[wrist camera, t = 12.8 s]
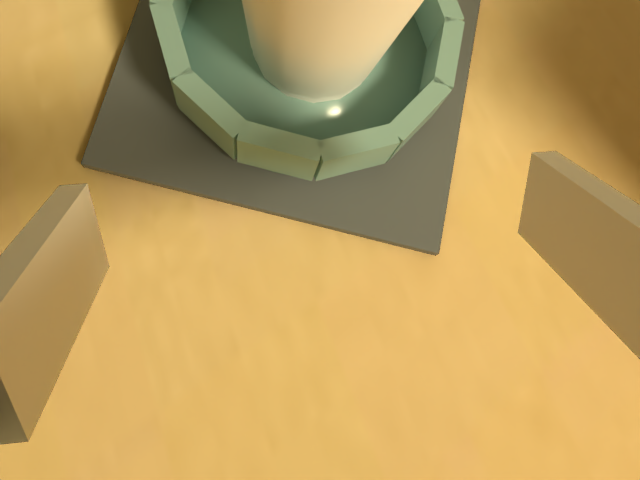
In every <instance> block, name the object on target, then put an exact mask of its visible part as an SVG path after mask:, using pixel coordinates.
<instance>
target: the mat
mask: <svg viewBox="0 0 640 480" xmlns="http://www.w3.org/2000/svg"><path fill="white" fill-rule="evenodd" d="M149 1H150V0H140V1H139V3H138V6H137V9H136V12H135V14H134V17H133V20H132V23H131V26H130V28H129V31H128V34H127V37H126V39H125V42H124V45H123V48H122V51H121V53H120V56H119V59H118V62H117V64H116V67H115V70H114V73H113V75H112V78H111V81H110V84H109V87H108V89H107V92H106V95H105V98H104V100H103V103H102V106H101V109H100V112H99V114H98V117H97V120H96V123H95V125H94V128H93V131H92V134H91V136H90V139H89V142H88V145H87V148H86V150H85V153H84V156H83V159H82V161H81V164H82V165H83V167H85V168H89V169H93V170H97V171H101V172H105V173H109V174H113V175H117V176H121V177H125V178H129V179H133V180H137V181H141V182H145V183H149V184H153V185H157V186H161V187H165V188H169V189H173V190H177V191H181V192H185V193H189V194H193V195H197V196H201V197H205V198H209V199H213V200H217V201H221V202H225V203H229V204H233V205H237V206H241V207H244V208H248V209H252V210H256V211H260V212H264V213H268V214H272V215H276V216H280V217H284V218H288V219H292V220H296V221H300V222H304V223H308V224H312V225H316V226H320V227H324V228H328V229H332V230H336V231H340V232H344V233H348V234H352V235H356V236H360V237H364V238H368V239H372V240H376V241H380V242H384V243H388V244H392V245H396V246H400V247H403V248H407V249H411V250H415V251H419V252H423V253H427V254H431V255H435V256H436V255H437V254H439V250H440V244H441V238H442V232H443V226H444V220H445V214H446V208H447V202H448V196H449V189H450V183H451V177H452V171H453V165H454V159H455V153H456V147H457V141H458V135H459V128H460V122H461V116H462V110H463V104H464V98H465V92H466V86H467V80H468V74H469V67H470V61H471V55H472V49H473V43H474V37H475V31H476V25H477V19H478V13H479V6H480V0H457V1H458V4H459V6H460V9H461V11H462V14H463V16H464V20H463V21H464V22H465V24H464V29H463V35H462V41H461V47H460V53H459V59H458V65H457V70H456V76H455V82H454V87H453V89H452V91H451V92H450V94H449V95H448V96H447V97H446V99H445V100H444V101H443V103H442V104H441V105H440V107H439V108H438V109H437V110H436V112H435V113H434V114H433V115H432V116H431V118H430V119H429V120H428V121H427V122H426V123H425V124H424V125H423V126H422V127H421V128H420V129H419V130H418V131H417V132H416V133H415V134H414V135H413V136H412V137H411V138H410V139H409V140H408V141H407V142H406V144H405V145H404V146H403V147H402V148H401V149H400V150H399V151H398V152H397V153H396V154H395V155H394V156H393V157H392V158H391V159H390V160H389V161H388V162H387V161H386V163H385V164H381V165H377V166H373V167H369V168H365V169H362V170H358V171H354V172H350V173H346V174H342V175H338V176H334V177H330V178H326V179H322V180H318V181H315V179H314V177H313V179H312V181H309V180H305V179H301V178H297V177H293V176H289V175H284V174H279V173H274V172H271V171H268V170H265V169H262V168H259V167H255V166H251V165H247V164H243V163H239V162H237V158H236V159H235V160H233V159H232V158H231V157H230V156H229V155H228V154H227V153H226V152H225V151H224V150H223V149H221V148H220V147H219V146H218V145H217V144H216V143H215V142H214V141H213V140H212V139H211V138H210V137H209V136H208V135H206V134H205V133H204V132H203V131H202V130H201V129H200V128H199V127H198V126H197V125H196V124H195V123H194V122H192V121H191V120H190V119H189V118H188V117H187V116H186V115H185V114H184V113H183V112H182V111H181V110H180V109H179V107H178V106H177V104H176V100H175V97H174V93H173V90H172V86H171V83H170V79H169V76H168V72H167V69H166V65H165V61H164V58H163V54H162V51H161V47H160V44H159V40H158V36H157V33H156V29H155V25H154V21H153V17H152V14H151V10H150V6H149V5H150V2H149Z"/></svg>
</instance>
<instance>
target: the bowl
mask: <svg viewBox="0 0 640 480" xmlns="http://www.w3.org/2000/svg"><path fill="white" fill-rule="evenodd" d="M149 2H150V5H149V6H150V10H151V14H152V17H153V21H154V25H155V29H156V33H157V36H158V40H159V44H160V47H161V51H162V54H163V58H164V61H165V65H166V69H167V72H168V76H169V79H170V83H171V86H172V90H173V93H174V97H175V100H176V104H177V106H178V107H179V109H180V110H181V111H182V112H183V113H184V114H185V115H186V116H187V117H188V118H189V119H190V120H191V121H192V122H194V123H195V124H196V125H197V126H198V127H199V128H200V129H201V130H202V131H203V132H204V133H205V134H206V135H208V136H209V137H210V138H211V139H212V140H213V141H214V142H215V143H216V144H217V145H218V146H219V147H220V148H221V149H223V150H224V151H225V152H226V153H227V154H228V155H229V156H230V157H231V158H232V159H233V160H235V159H236V158H237V162H239V163H243V164H247V165H251V166H255V167H259V168H262V169H265V170H268V171H271V172H274V173H279V174H284V175H289V176H293V177H297V178H301V179H305V180H309V181H312V179H313V177H314V179H315V181H318V180H322V179H326V178H330V177H334V176H338V175H342V174H346V173H350V172H354V171H358V170H362V169H365V168H369V167H373V166H377V165H381V164H385V163H386V161H387V162H388V161H389V160H390V159H391V158H392V157H393V156H394V155H395V154H396V153H397V152H398V151H399V150H400V149H401V148H402V147H403V146H404V145H405V144H406V142H407V141H408V140H409V139H410V138H411V137H412V136H413V135H414V134H415V133H416V132H417V131H418V130H419V129H420V128H421V127H422V126H423V125H424V124H425V123H426V122H427V121H428V120H429V119H430V118H431V116H432V115H433V114H434V113H435V112H436V110H437V109H438V108H439V107H440V105H441V104H442V103H443V101H444V100H445V99H446V97H447V96H448V95H449V94H450V92H451V91H452V89H453V87H454V82H455V76H456V70H457V65H458V59H459V53H460V47H461V41H462V35H463V29H464V24H465V22H464V21H463V20H464V16H463V14H462V11H461V9H460V6H459V4H458V1H457V0H424V1H423V2H422V4H421V5H420V6H419V8H418V9H417V10H416V12H415V13H414V15H413V16H412V17H411V19H410V20H409V21H408V23H407V24H406V25H405V27H404V28H403V29H402V31H401V32H400V33H399V35H398V36H397V37H396V39H395V40H394V41H393V43H392V44H391V45H390V47H389V48H388V49H387V51H386V52H385V54H384V55H383V56H382V58H381V59H380V60H379V62H378V63H377V64H376V66H375V67H374V68H373V70H372V71H371V72H370V74H369V75H368V76H367V78H366V79H365V80H364V81H363V82H362V83H361V85H360V86H358V87H357V88H355V89H354V90H353V91H351V92H350V93H348V94H347V95H345V96H344V97H342V98H341V99H337V100H330V101H324V102H317V103H311V102H308V101H304V100H300V99H297V98H293V97H290V96H286V95H285V94H284V93H282V92H281V91H280V90H279V89H277V88H276V87H275V86H274V85H272V84H271V83H270V82H269V81H267V80H266V79H265V78H264V76H263V74H262V72H261V70H260V68H259V66H258V64H257V62H256V60H255V58H254V56H253V50H252V48H251V45H250V40H249V35H248V30H247V25H246V19H245V14H244V9H243V4H242V0H150V1H149Z"/></svg>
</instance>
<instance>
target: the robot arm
mask: <svg viewBox="0 0 640 480" xmlns="http://www.w3.org/2000/svg"><path fill="white" fill-rule="evenodd" d="M518 233H519V234H520V235H521V236H522V237H523V238H524V239H525V240H526V242H527V243H528V244H529V245H530V246H531V247H532V248H533V249H534V250H535V251H536V252H537V253H538V254H539V255H540V256H541V257H542V258H543V259H544V260H545V261H546V262H547V263H548V264H549V265H550V266H551V268H552V269H553V270H554V271H555V272H556V273H557V274H558V275H559V276H560V277H561V278H562V279H563V280H564V281H565V282H566V283H567V284H568V285H569V286H570V287H571V288H572V289H573V290H574V291H575V292H576V294H577V295H578V296H579V297H580V298H581V299H582V300H583V301H584V302H585V303H586V304H587V305H588V306H589V307H590V308H591V309H592V310H593V311H594V312H595V313H596V314H597V315H598V316H599V317H600V318H601V319H602V321H603V322H604V323H605V324H606V325H607V326H608V327H609V328H610V329H611V330H612V331H613V332H614V333H615V334H616V335H617V336H618V337H619V338H620V339H621V340H622V341H623V342H624V343H625V344H626V345H627V347H628V348H629V349H630V350H631V351H632V352H633V353H634V354H635V355H636V356H637V357H638V358H639V359H640V205H639V204H638V203H636V202H635V201H633V200H631V199H630V198H628V197H627V196H625V195H624V194H622V193H621V192H619V191H617V190H616V189H614V188H613V187H611V186H610V185H608V184H606V183H605V182H603V181H602V180H600V179H599V178H597V177H596V176H594V175H592V174H591V173H589V172H588V171H586V170H585V169H583V168H582V167H580V166H578V165H577V164H575V163H574V162H572V161H571V160H569V159H567V158H566V157H564V156H563V155H561V154H560V153H558V152H557V151H549V152H535V153H532V155H531V160H530V166H529V172H528V178H527V183H526V189H525V195H524V201H523V206H522V212H521V218H520V224H519V229H518ZM108 268H109V263H108V259H107V256H106V252H105V248H104V244H103V240H102V237H101V233H100V229H99V225H98V221H97V218H96V214H95V210H94V206H93V203H92V199H91V195H90V191H89V187H88V184H87V183H86V184H72V185H59V186H58V188H57V189H56V190H55V191H54V192H53V194H52V195H51V196H50V197H49V198H48V199H47V201H46V202H45V203H44V204H43V205H42V207H41V208H40V209H39V210H38V211H37V213H36V214H35V215H34V216H33V217H32V218H31V220H30V221H29V222H28V223H27V224H26V226H25V227H24V228H23V229H22V230H21V231H20V233H19V234H18V235H17V236H16V237H15V239H14V240H13V241H12V242H11V243H10V245H9V246H8V247H7V248H6V249H5V250H4V252H3V253H2V254H1V255H0V445H1V444H10V443H19V442H28V441H29V439H30V437H31V435H32V433H33V431H34V428H35V426H36V424H37V422H38V420H39V418H40V415H41V413H42V411H43V409H44V407H45V405H46V403H47V400H48V398H49V396H50V394H51V392H52V390H53V387H54V385H55V383H56V381H57V379H58V377H59V374H60V372H61V370H62V368H63V366H64V364H65V361H66V359H67V357H68V355H69V353H70V351H71V348H72V346H73V344H74V342H75V340H76V338H77V335H78V333H79V331H80V329H81V327H82V325H83V322H84V320H85V318H86V316H87V314H88V312H89V309H90V307H91V305H92V303H93V301H94V299H95V296H96V294H97V292H98V290H99V288H100V286H101V283H102V281H103V279H104V277H105V275H106V273H107V270H108Z"/></svg>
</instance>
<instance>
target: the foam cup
mask: <svg viewBox="0 0 640 480" xmlns="http://www.w3.org/2000/svg"><path fill="white" fill-rule="evenodd" d="M423 1H424V0H242V4H243V9H244V14H245V19H246V25H247V30H248V35H249V40H250V45H251V48H252V50H253V56H254V58H255V60H256V62H257V64H258V66H259V68H260V70H261V72H262V74H263V76H264V78H265V79H266V80H267V81H269V82H270V83H271V84H272V85H274V86H275V87H276V88H277V89H279V90H280V91H281V92H282V93H284V94H285V95H286V96H290V97H293V98H297V99H300V100H304V101H308V102H311V103H317V102H324V101H330V100H337V99H341V98H342V97H344V96H345V95H347V94H348V93H350V92H351V91H353V90H354V89H355V88H357V87H358V86H360V85H361V83H362V82H363V81H364V80H365V79H366V78H367V76H368V75H369V74H370V72H371V71H372V70H373V68H374V67H375V66H376V64H377V63H378V62H379V60H380V59H381V58H382V56H383V55H384V54H385V52H386V51H387V49H388V48H389V47H390V45H391V44H392V43H393V41H394V40H395V39H396V37H397V36H398V35H399V33H400V32H401V31H402V29H403V28H404V27H405V25H406V24H407V23H408V21H409V20H410V19H411V17H412V16H413V15H414V13H415V12H416V10H417V9H418V8H419V6H420V5H421V4H422V2H423Z"/></svg>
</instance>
